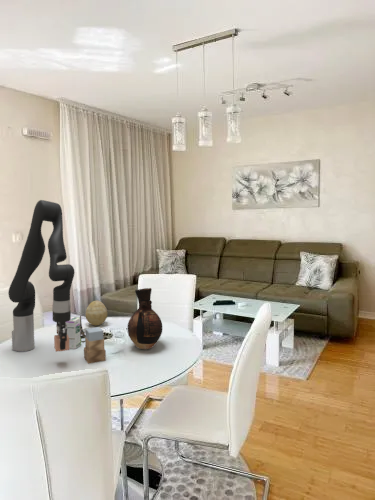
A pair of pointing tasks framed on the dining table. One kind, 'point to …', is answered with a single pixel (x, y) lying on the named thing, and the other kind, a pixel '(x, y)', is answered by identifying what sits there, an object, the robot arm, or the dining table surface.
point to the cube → (57, 343)
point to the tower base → (94, 356)
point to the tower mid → (94, 345)
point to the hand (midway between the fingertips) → (61, 346)
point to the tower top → (94, 334)
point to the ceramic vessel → (144, 322)
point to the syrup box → (74, 332)
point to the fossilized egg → (96, 313)
